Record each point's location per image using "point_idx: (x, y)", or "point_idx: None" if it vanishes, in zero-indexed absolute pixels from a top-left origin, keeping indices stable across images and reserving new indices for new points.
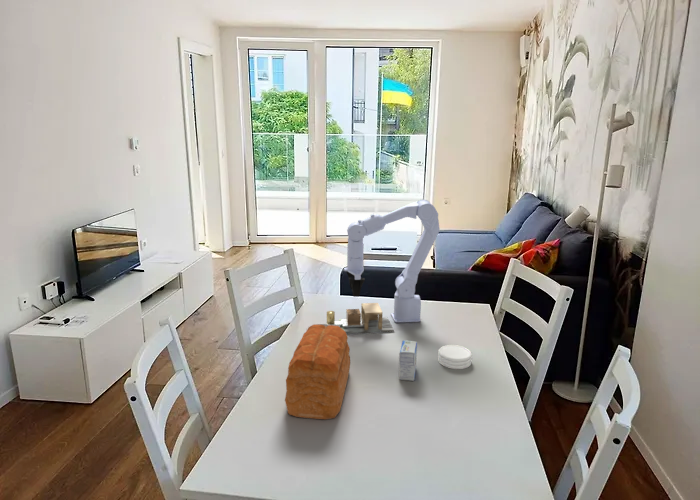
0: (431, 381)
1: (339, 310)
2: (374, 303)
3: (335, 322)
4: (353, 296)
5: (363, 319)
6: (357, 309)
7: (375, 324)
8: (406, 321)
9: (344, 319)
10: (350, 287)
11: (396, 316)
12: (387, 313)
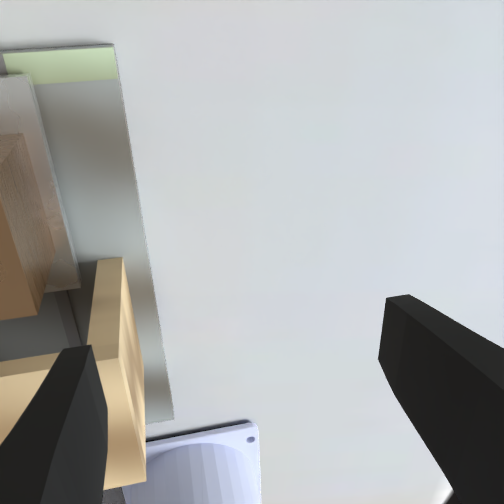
0: None
1: (387, 61)
2: (126, 459)
3: None
4: (65, 348)
5: (61, 288)
6: (14, 301)
7: (25, 357)
8: (125, 499)
9: (32, 113)
10: (400, 310)
11: (156, 473)
12: (278, 400)
